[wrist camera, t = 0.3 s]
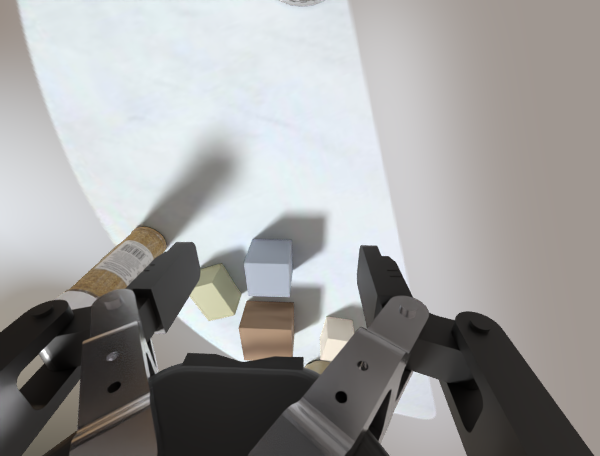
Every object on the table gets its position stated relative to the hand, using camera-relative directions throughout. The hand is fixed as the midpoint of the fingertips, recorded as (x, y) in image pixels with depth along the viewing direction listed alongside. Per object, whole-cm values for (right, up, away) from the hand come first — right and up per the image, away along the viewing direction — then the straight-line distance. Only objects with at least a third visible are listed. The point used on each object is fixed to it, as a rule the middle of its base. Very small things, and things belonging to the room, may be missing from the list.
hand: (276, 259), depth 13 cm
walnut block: (-3, -12, +28) cm, 31 cm away
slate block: (-2, -2, +22) cm, 22 cm away
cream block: (+7, -14, +29) cm, 33 cm away
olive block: (-10, -6, +25) cm, 28 cm away
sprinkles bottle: (-18, 0, +22) cm, 29 cm away
